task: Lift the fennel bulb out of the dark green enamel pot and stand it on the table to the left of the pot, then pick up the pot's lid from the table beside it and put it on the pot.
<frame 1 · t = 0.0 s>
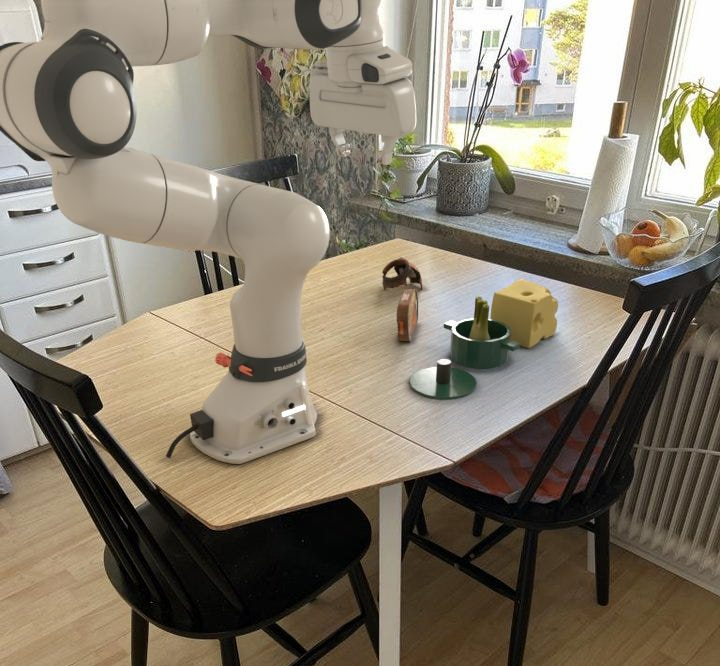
hand: (364, 159, 117), 39 cm above the table, tool pointing down, fingers open, 8 cm apart
brown rounded piece: (402, 288, 177), on the table
pot: (478, 358, 144), on the table
tin: (407, 334, 155), on the table
cheese: (520, 336, 153), on the table
lid: (442, 383, 134), point 1 cm above the table
fennel bulb: (478, 358, 144), resting on pot
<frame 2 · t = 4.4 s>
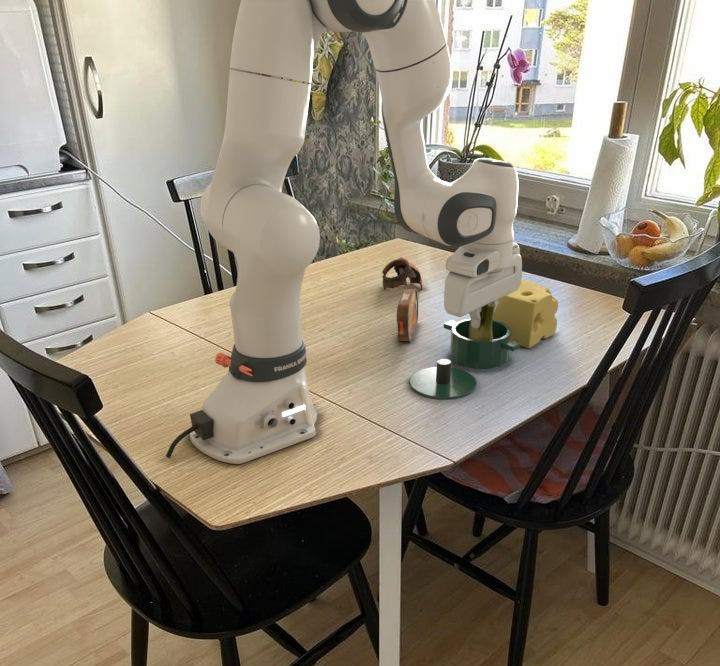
hand: (481, 324, 139), 7 cm above the table, tool pointing down, fingers closed on fennel bulb
fennel bulb: (480, 358, 144), resting on pot, touching gripper
everything else where it was.
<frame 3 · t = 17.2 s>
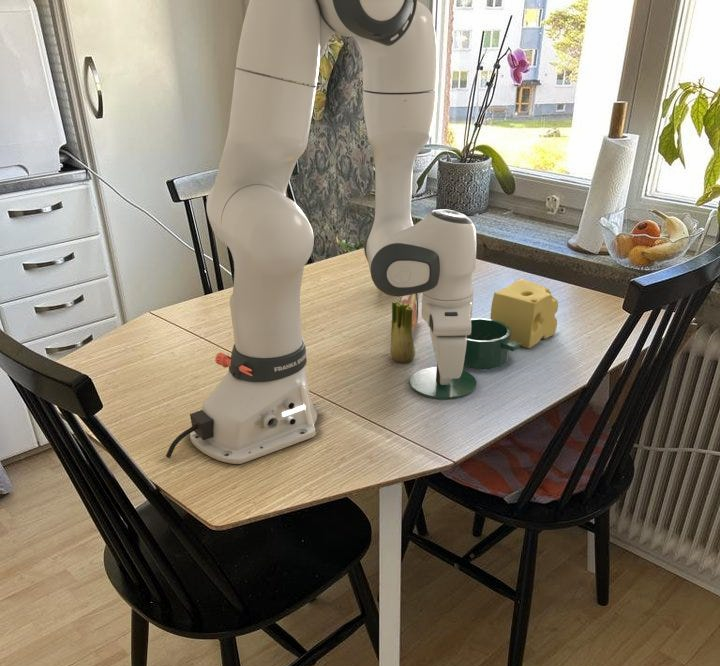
hand: (443, 378, 133), 2 cm above the table, tool pointing down, fingers closed on lid, 2 cm apart
lid: (442, 383, 134), point 1 cm above the table, touching gripper
fennel bulb: (402, 361, 144), on the table
everything else where it was.
when the fingers open (7 cm above the table, at t = 24.0 s): lid stays where it is, resting on pot.
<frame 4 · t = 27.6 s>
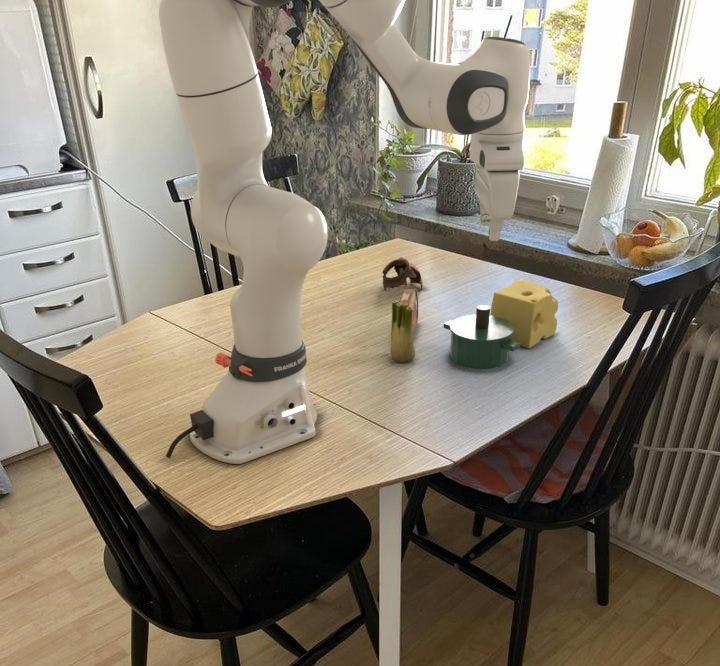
hand: (489, 231, 129), 25 cm above the table, tool pointing down, fingers open, 8 cm apart
lid: (481, 329, 140), point 6 cm above the table, touching pot
everything else where it was.
at the end: fennel bulb inside the target area (0.3 cm from its centre), on the table; lid 0.1 cm off-centre on the pot, point 6.3 cm above the pot's base; lid tilted 0° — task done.
